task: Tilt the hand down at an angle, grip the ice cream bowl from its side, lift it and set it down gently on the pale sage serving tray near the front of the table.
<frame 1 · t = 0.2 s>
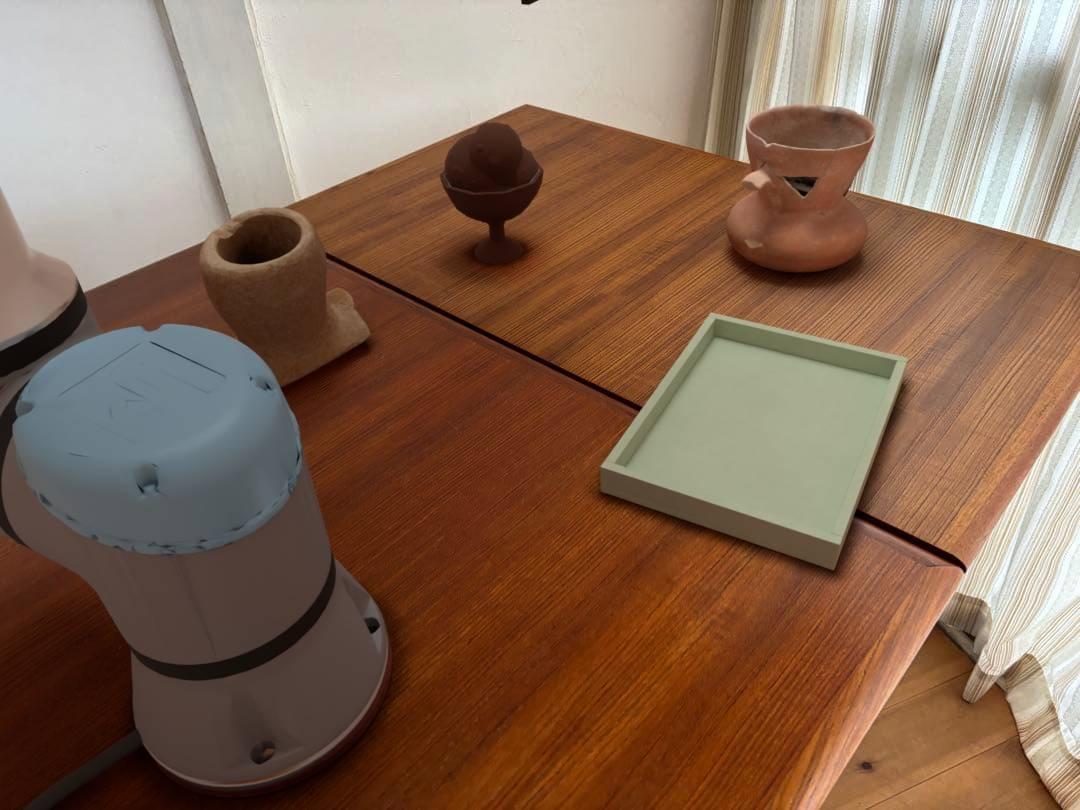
ice cream bowl: (499, 253, 96), on the table
stone cup: (305, 361, 81), on the table
serving tray: (760, 433, 69), on the table
ceramic jug: (794, 253, 92), on the table
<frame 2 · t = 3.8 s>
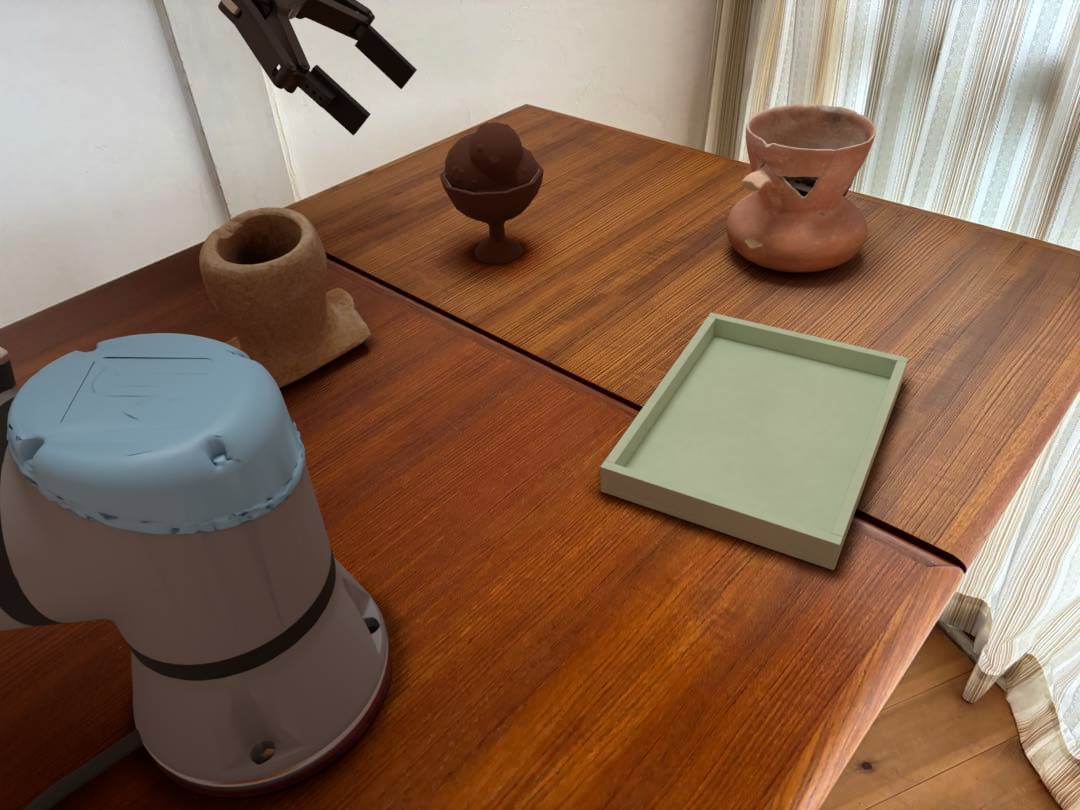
hand: (387, 101, 88), 17 cm above the table, tool tilted 45°, fingers open, 13 cm apart
nothing on the table moved.
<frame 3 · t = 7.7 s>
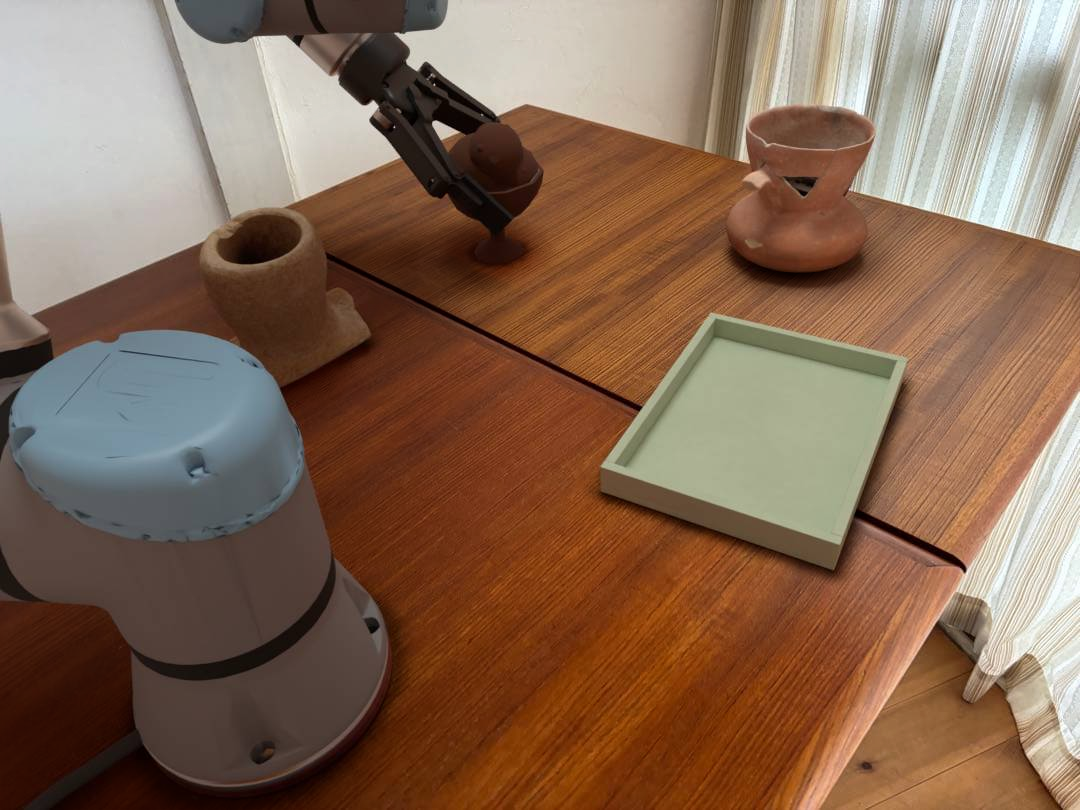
hand: (518, 202, 91), 6 cm above the table, tool tilted 45°, fingers closed on ice cream bowl, 11 cm apart
ice cream bowl: (499, 253, 96), on the table, touching gripper
everything else where it was.
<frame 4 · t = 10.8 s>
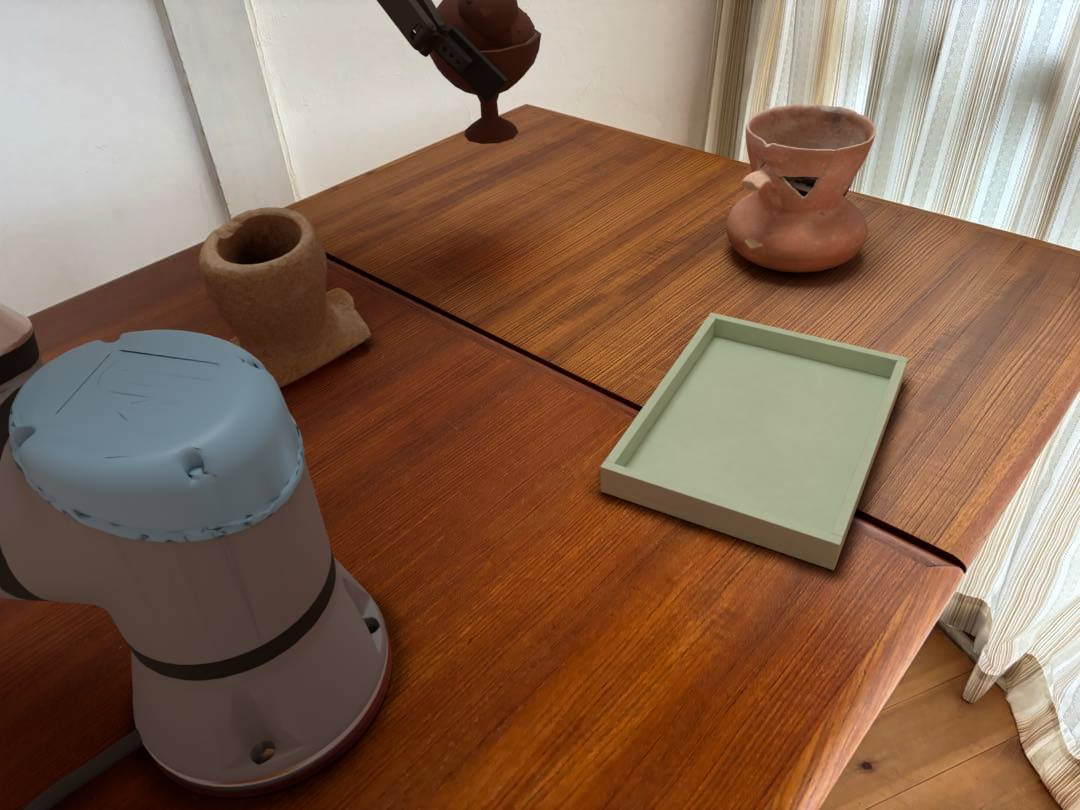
hand: (513, 71, 82), 20 cm above the table, tool tilted 45°, fingers closed on ice cream bowl, 11 cm apart
ice cream bowl: (491, 135, 87), point 14 cm above the table, touching gripper
everything else where it was.
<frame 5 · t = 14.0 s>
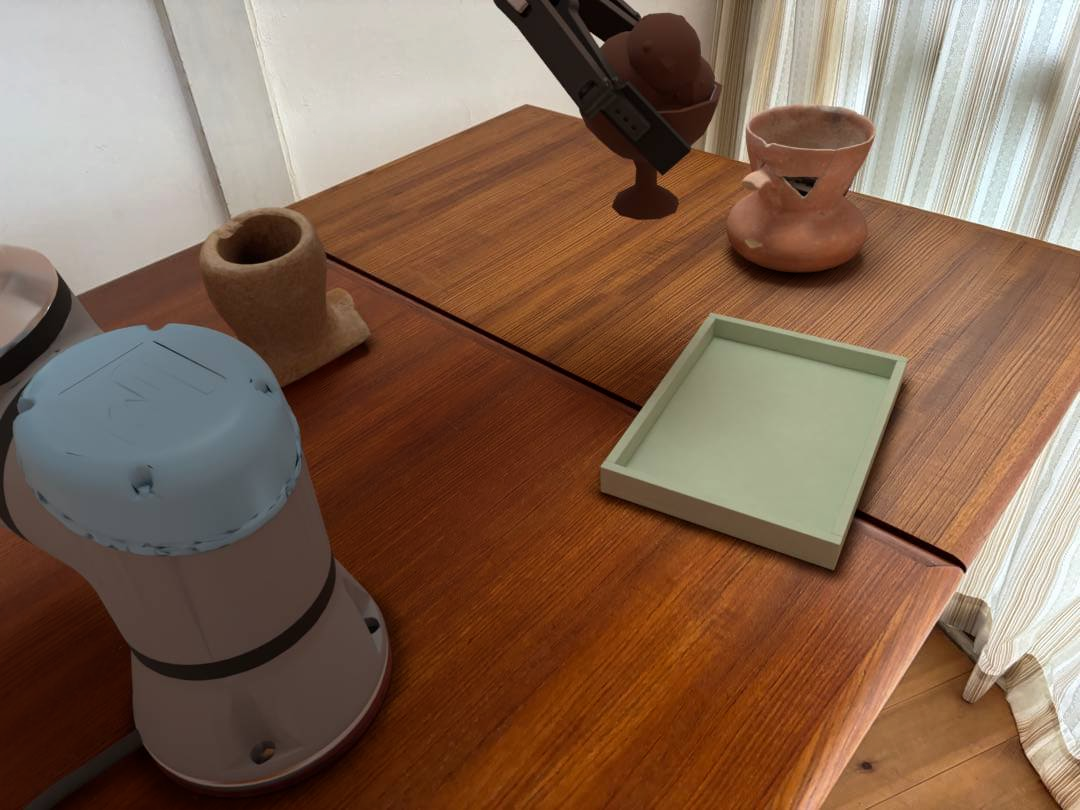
hand: (683, 132, 66), 21 cm above the table, tool tilted 45°, fingers closed on ice cream bowl, 11 cm apart
ice cream bowl: (645, 207, 70), point 15 cm above the table, touching gripper
everything else where it was.
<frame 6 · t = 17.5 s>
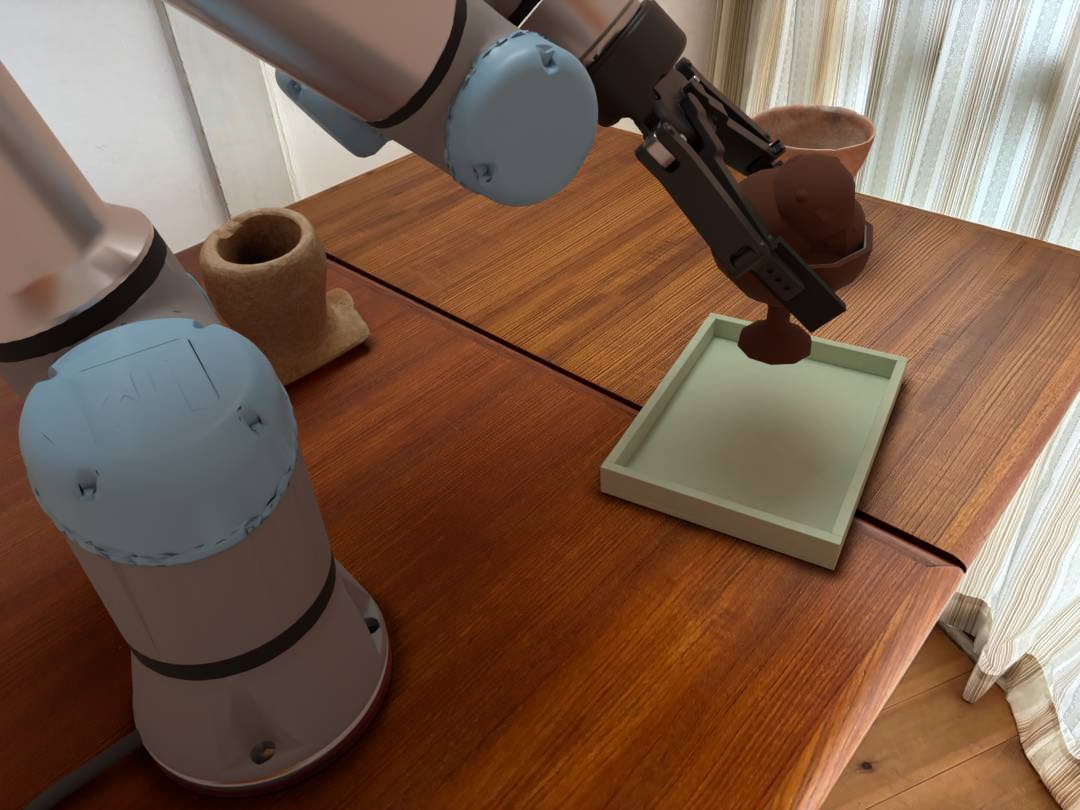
hand: (824, 273, 59), 15 cm above the table, tool tilted 45°, fingers closed on ice cream bowl, 11 cm apart
ice cream bowl: (774, 346, 64), point 9 cm above the table, touching gripper
everything else where it was.
when the fingers open (7 cm above the table, at t = 20.3 s): ice cream bowl stays where it is, resting on serving tray.
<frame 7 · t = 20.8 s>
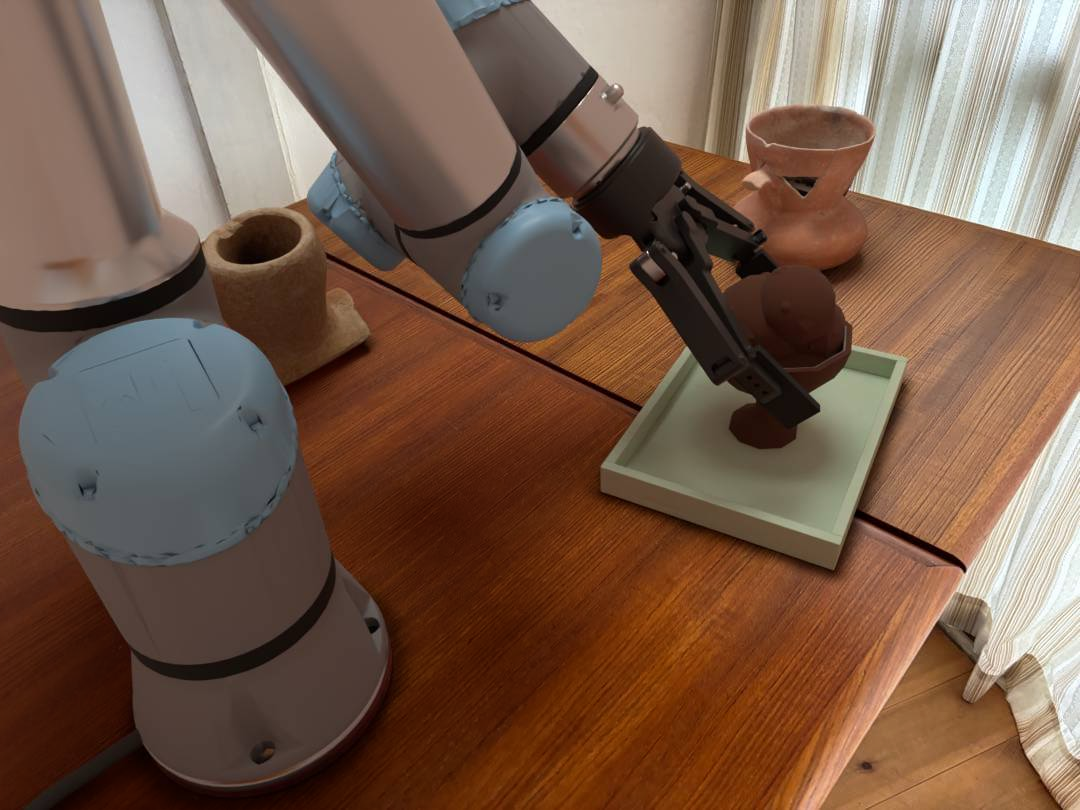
hand: (802, 362, 64), 7 cm above the table, tool tilted 45°, fingers open, 13 cm apart
ice cream bowl: (762, 429, 69), resting on serving tray
everything else where it was.
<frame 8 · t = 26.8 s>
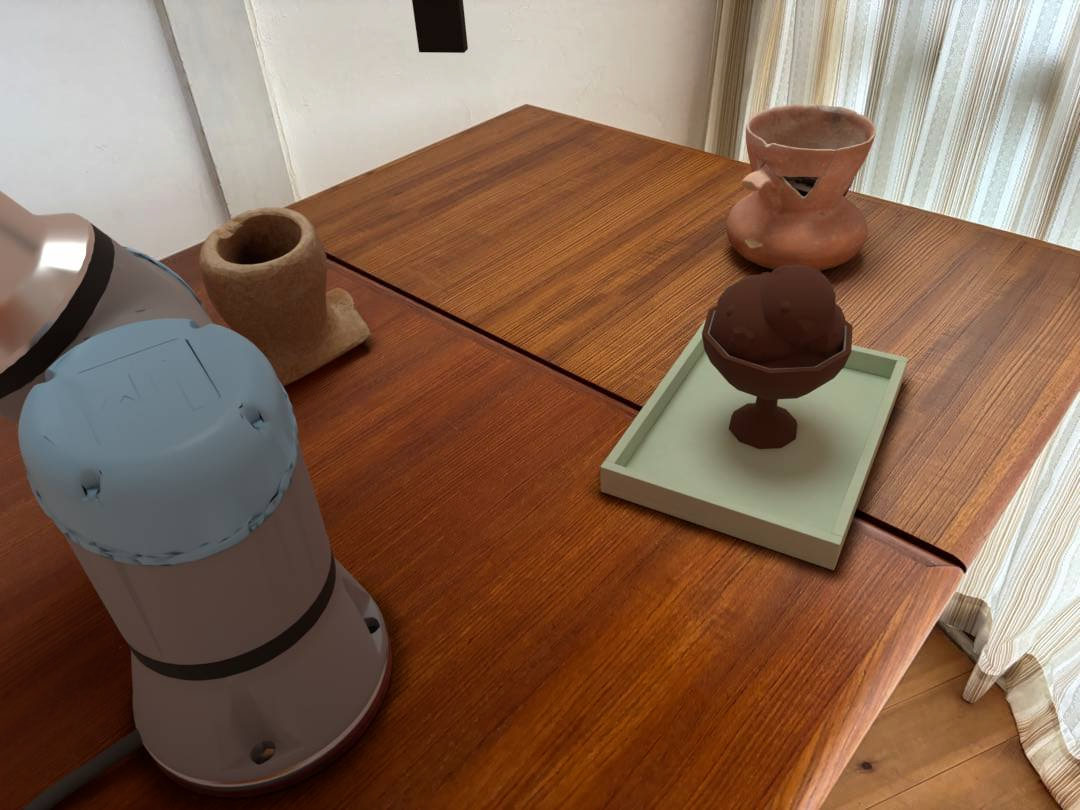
hand: (476, 19, 54), 32 cm above the table, tool pointing down, fingers open, 13 cm apart
nothing on the table moved.
at the end: ice cream bowl inside the target area in the serving tray (0.1 cm from its centre), point 0.4 cm above the serving tray's base; ice cream bowl tilted 0°; the gripper is holding nothing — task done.
